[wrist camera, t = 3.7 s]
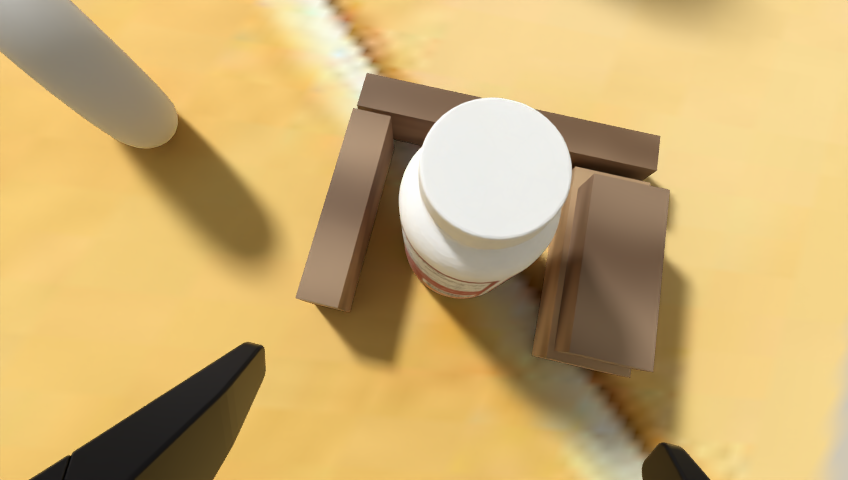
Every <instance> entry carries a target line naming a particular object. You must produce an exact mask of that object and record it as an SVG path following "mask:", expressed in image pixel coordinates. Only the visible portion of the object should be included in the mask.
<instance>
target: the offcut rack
mask: <svg viewBox="0 0 848 480" xmlns="http://www.w3.org/2000/svg"><path fill="white" fill-rule="evenodd" d="M475 99H481V97H476V96H471V95H467V94H462V93H457V92H453V91H448V90H443V89H439V88H434V87H429V86H425V85H420V84H416V83H411V82H406V81H402V80H397V79H392V78H388V77H383V76H378V75H374V74H369V73H367V74H366V78H365V81H364V84H363V88H362V91H361V94H360V97H359V101H358V104H357V106H358V109H355V108H353V111H352V114H351V117H350V121H349V124H348V127H347V130H346V134H345V137H344V140H343V144H342V147H341V150H340V153H339V157H338V160H337V163H336V167H335V170H334V173H333V176H332V180H331V183H330V186H329V190H328V193H327V196H326V199H325V203H324V206H323V209H322V213H321V216H320V219H319V222H318V226H317V229H316V232H315V236H314V239H313V242H312V245H311V249H310V252H309V255H308V259H307V262H306V265H305V268H304V272H303V275H302V278H301V282H300V285H299V288H298V291H297V295H296V298H297V299H300V300H303V301H306V302H309V303H312V304H316V305H320V306H324V307H328V308H333V309H337V310H341V311H345V312H350V310H351V306H352V303H353V299H354V295H355V292H356V288H357V284H358V280H359V277H360V273H361V269H362V266H363V262H364V258H365V255H366V251H367V247H368V243H369V240H370V236H371V232H372V229H373V225H374V221H375V217H376V214H377V210H378V206H379V203H380V199H381V195H382V192H383V188H384V184H385V180H386V177H387V173H388V169H389V166H390V162H391V158H392V155H393V151H394V140H399V141H404V142H408V143H413V144H417V145H422V146H423V143H424V140H425V138H426V136H427V134H428V133H429V131H430V129H431V128H432V126H433V125H434V124H435V123H436V122H437V121H438V120H439V119H440V118H441V117H442V116H443V115H444V114H445V113H447V112H448V111H450V110H451V109H453V108H454V107H456V106H458V105H460V104H463V103H465V102H468V101H471V100H475ZM535 110H536V109H535ZM536 111H538V112H540V113H541V114H542V115H544V116H545V117H546V118H547V119H548V120H549V121H550V122H551V123H552V124H553V125H554V126H555V127H556V128H557V130H558V131H559V132H560V134H561V135H562V137H563V139H564V141H565V143H566V145H567V148H568V150H569V154H570V158H571V164H572V180H571V186H570V190H569V193H568V196H567V199H566V201H565V203H564V205H563V206H562V208H561V216H560V220H559V224H558V227H557V230H556V232H555V235H554V237H553V239H552V241H551V242H550V244H549V250H548V257H547V263H546V269H545V275H544V282H543V288H542V294H541V300H540V306H539V313H538V319H537V325H536V331H535V338H534V344H533V350H532V356H536V357H540V358H544V359H548V360H553V361H557V362H561V363H565V364H570V365H574V366H578V367H582V368H586V369H591V370H595V371H599V372H603V373H608V374H613V375H619V376H624V377H629V378H630V375H631V369H636V370H643V371H650V372H653V368H654V357H655V346H656V335H657V325H658V314H659V303H660V292H661V281H662V270H663V259H664V248H665V237H666V226H667V215H668V204H669V193H670V190H668V189H663V188H658V187H654V186H650V183H649V182H644V181H642V180H644V179H645V178H647V177H648V176H650V175H651V174H652V173H654V172H655V171H657V164H658V154H659V144H660V136H657V135H652V134H648V133H643V132H638V131H634V130H629V129H624V128H620V127H615V126H611V125H606V124H601V123H597V122H592V121H587V120H583V119H578V118H573V117H569V116H564V115H559V114H555V113H550V112H546V111H541V110H536Z"/></svg>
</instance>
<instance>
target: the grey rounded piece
mask: <svg viewBox="0 0 848 480" xmlns="http://www.w3.org/2000/svg"><path fill="white" fill-rule="evenodd" d="M0 52H2V53H3V54H4V55H5V56H6V57H8V58H9V59H10V60H11V61H12V62H13V63H15V64H16V65H17V66H18V67H19V68H20V69H22V70H23V71H24V72H25V73H27V74H28V75H29V76H30V77H31V78H33V79H34V80H35V81H36V82H38V83H39V84H40V85H41V86H43V87H44V88H45V89H46V90H48V91H49V92H50V93H51V94H53V95H54V96H55V97H57V98H58V99H59V100H61V101H62V102H63V103H64V104H66V105H67V106H68V107H70V108H71V109H72V110H74V111H75V112H76V113H78V114H79V115H81V116H82V117H83V118H85V119H86V120H87V121H89V122H90V123H92V124H93V125H94V126H96V127H98V128H99V129H101V130H102V131H104V132H105V133H107V134H108V135H110V136H111V137H113V138H114V139H116V140H118V141H120V142H122V143H124V144H127V145H130V146H133V147H136V148H147V149H149V148H154V147H158V146H161V145H163V144H164V143H166V142H168V141H169V140H170V139H171V138H172V136H173V135H174V134H175V132H176V129H177V126H178V114H177V112H176V109H175V107H174V104H173V103H172V102H171V100H170V99H169V98H168V97H167V95H166V94H165V93H164V92H163V91H162V90H161V89H160V88H159V87H158V86H157V85H156V83H155V82H154V81H153V80H152V79H151V78H150V77H149V76H148V75H147V74H146V73H145V72H144V71H143V70H142V69H141V68H140V67H139V66H138V65H137V64H136V63H135V62H134V61H133V60H132V59H131V58H130V57H129V56H128V55H127V54H126V53H125V52H124V51H122V50H121V49H120V48H119V47H118V46H117V45H116V44H115V43H114V42H113V41H112V40H111V39H110V38H109V37H108V36H107V35H106V34H105V33H104V32H103V31H102V30H101V29H100V28H99V27H98V26H97V25H96V24H95V23H94V22H93V21H92V20H90V19H89V18H88V17H87V16H86V15H85V14H84V13H83V12H82V11H81V10H80V9H79V8H78V7H77V6H76V5H75V4H74V3H72V2H71V1H70V0H0Z"/></svg>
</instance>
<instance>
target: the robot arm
mask: <svg viewBox="0 0 848 480" xmlns="http://www.w3.org/2000/svg"><path fill="white" fill-rule="evenodd" d="M265 371H266V366H265V349H264V347H263V346H262V345H259V344H255V343H251V342H245V343H243V344H241V345H240V346H238V347H236V348H235V349H233V350H232V351H230V352H229V353H227V354H225V355H224V356H222V357H221V358H219V359H218V360H216V361H215V362H213V363H211V364H210V365H208V366H207V367H205V368H204V369H202V370H200V371H199V372H197V373H196V374H194V375H193V376H191V377H190V378H188V379H186V380H185V381H183V382H182V383H180V384H179V385H177V386H175V387H174V388H172V389H171V390H169V391H168V392H166V393H165V394H163V395H161V396H160V397H158V398H157V399H155V400H154V401H152V402H150V403H149V404H147V405H146V406H144V407H143V408H141V409H140V410H138V411H136V412H135V413H133V414H132V415H130V416H129V417H127V418H125V419H124V420H122V421H121V422H119V423H118V424H116V425H115V426H113V427H111V428H110V429H108V430H107V431H105V432H104V433H102V434H100V435H99V436H97V437H96V438H94V439H93V440H91V441H90V442H88V443H86V444H85V445H83V446H82V447H80V448H79V449H77V450H75V451H74V452H73V453H72V455H71V456H70V455H68V456H66V457H64V458H63V459H61V460H60V461H58V462H56V463H55V464H53V465H52V466H50V467H49V468H47V469H45V470H44V471H42V472H41V473H39V474H37V475H36V476H34V477H33V478H31V479H29V480H213V479H214V477H215V475H216V474H217V472H218V470H219V469H220V467H221V465H222V464H223V462H224V460H225V458H226V457H227V455H228V453H229V451H230V450H231V448H232V446H233V444H234V442H235V440H236V438H237V436H238V434H239V432H240V429H241V427H242V425H243V423H244V421H245V418H246V416H247V414H248V412H249V410H250V407H251V405H252V403H253V401H254V399H255V396H256V394H257V392H258V390H259V388H260V385H261V383H262V381H263V379H264V376H265ZM642 478H643V480H710V479H709V478H708V477H707V475H706V474H705V473H704V472H703V471H702V470H701V468H700V467H699V466H698V465H697V464H696V463H695V461H694V460H693V459H692V458H691V457H690V456H689V454H688V453H687V452H686V451H685V450H684V449H683V448H681V447H679V446H676V445H672V444H668V443H660V444H658V445H657V446H656V448H655V449H654V450H653V451H652V452H651V454H650V455H649V456H648V457H647V458H646V459H645V461H644V463H643V466H642Z"/></svg>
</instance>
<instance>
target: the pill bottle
mask: <svg viewBox="0 0 848 480" xmlns="http://www.w3.org/2000/svg"><path fill="white" fill-rule="evenodd" d="M571 180H572V164H571V158H570V154H569V150H568V148H567V145H566V143H565V141H564V139H563V137H562V135H561V134H560V132H559V131H558V130H557V128H556V127H555V126H554V125H553V124H552V123H551V122H550V121H549V120H548V119H547V118H546V117H545V116H544V115H542V114H541V113H540V112H538V111H536V110H535V109H533V108H531V107H529V106H527V105H525V104H523V103H520V102H516V101H513V100H508V99H503V98H481V99H475V100H471V101H468V102H465V103H463V104H460V105H458V106H456V107H454V108H453V109H451V110H450V111H448V112H447V113H445V114H444V115H443V116H442V117H441V118H440V119H439V120H438V121H437V122H436V123H435V124H434V125H433V126H432V128H431V129H430V131H429V133H428V134H427V136H426V138H425V140H424V143H423V146H422V147H421V148H420V149H419V150H418V151H417V153H416V154H415V155H414V156H413V158H412V159H411V161H410V162H409V164H408V166H407V168H406V170H405V172H404V175H403V178H402V182H401V186H400V192H399V212H400V220H401V225H402V232H403V239H404V245H405V251H406V255H407V259H408V262H409V264H410V266H411V268H412V270H413V272H414V273H415V275H416V276H417V277H418V278H419V280H420V281H421V282H422V283H423V284H425V285H426V286H427V287H428V288H430V289H431V290H433V291H434V292H436V293H438V294H441V295H444V296H447V297H451V298H460V299H463V298H472V297H476V296H480V295H483V294H485V293H487V292H489V291H491V290H493V289H494V288H496V287H497V286H499V285H500V284H502V283H504V282H505V281H507V280H508V279H510V278H512V277H513V276H515V275H517V274H518V273H520V272H522V271H523V270H524V269H526V268H527V267H529V266H530V265H531V264H532V263H533V262H534V261H535V260H537V259H538V258H539V256H540V255H541V254H542V253H543V252H544V251H545V249H546V248H547V247H548V245H549V244H550V242H551V241H552V239H553V237H554V235H555V232H556V230H557V227H558V224H559V220H560V216H561V208H562V206H563V205H564V203H565V201H566V199H567V196H568V193H569V190H570V186H571Z"/></svg>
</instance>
